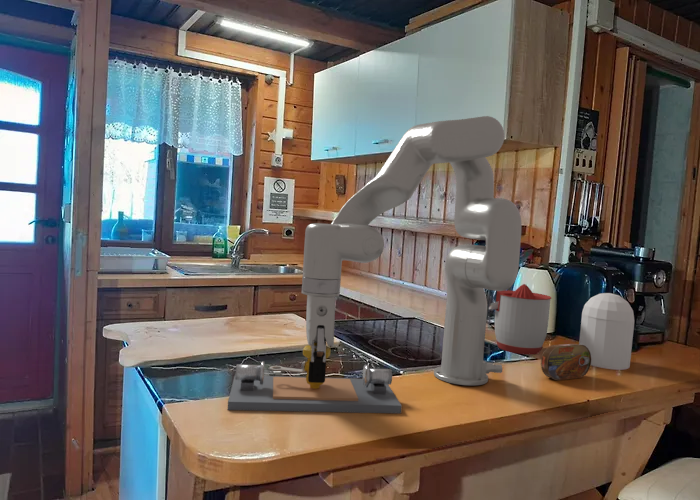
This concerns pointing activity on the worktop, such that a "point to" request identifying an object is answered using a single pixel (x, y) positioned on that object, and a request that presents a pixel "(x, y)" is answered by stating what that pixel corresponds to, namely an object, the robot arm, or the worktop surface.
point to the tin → (566, 361)
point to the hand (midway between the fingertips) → (315, 376)
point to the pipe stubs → (369, 377)
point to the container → (608, 331)
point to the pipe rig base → (312, 396)
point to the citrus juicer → (521, 320)
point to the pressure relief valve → (304, 365)
